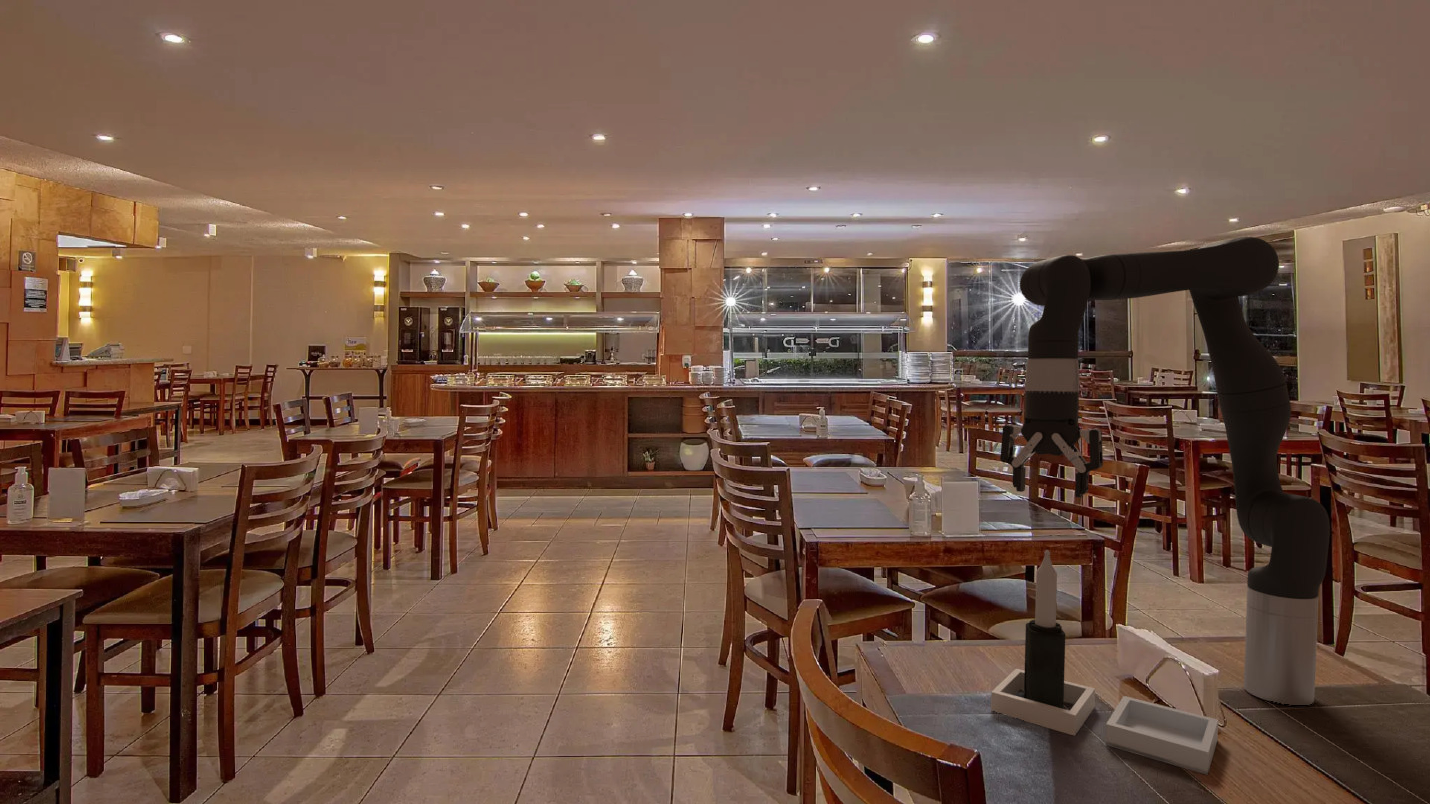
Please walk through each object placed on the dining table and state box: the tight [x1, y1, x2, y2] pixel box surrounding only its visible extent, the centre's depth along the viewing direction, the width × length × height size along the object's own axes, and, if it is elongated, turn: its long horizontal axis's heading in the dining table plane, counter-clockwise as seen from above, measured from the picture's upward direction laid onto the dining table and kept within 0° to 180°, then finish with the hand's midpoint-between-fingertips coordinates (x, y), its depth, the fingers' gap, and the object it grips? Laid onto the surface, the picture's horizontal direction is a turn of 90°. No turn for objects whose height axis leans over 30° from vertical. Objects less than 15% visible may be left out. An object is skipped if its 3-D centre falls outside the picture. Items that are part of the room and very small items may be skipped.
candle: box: [1023, 549, 1066, 709], centre depth 114 cm, size 5×5×25 cm
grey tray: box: [1105, 695, 1219, 776], centre depth 104 cm, size 12×12×3 cm
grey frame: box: [990, 668, 1096, 736], centre depth 114 cm, size 12×12×3 cm
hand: (1049, 493), depth 113 cm, fingers open, 8 cm apart
